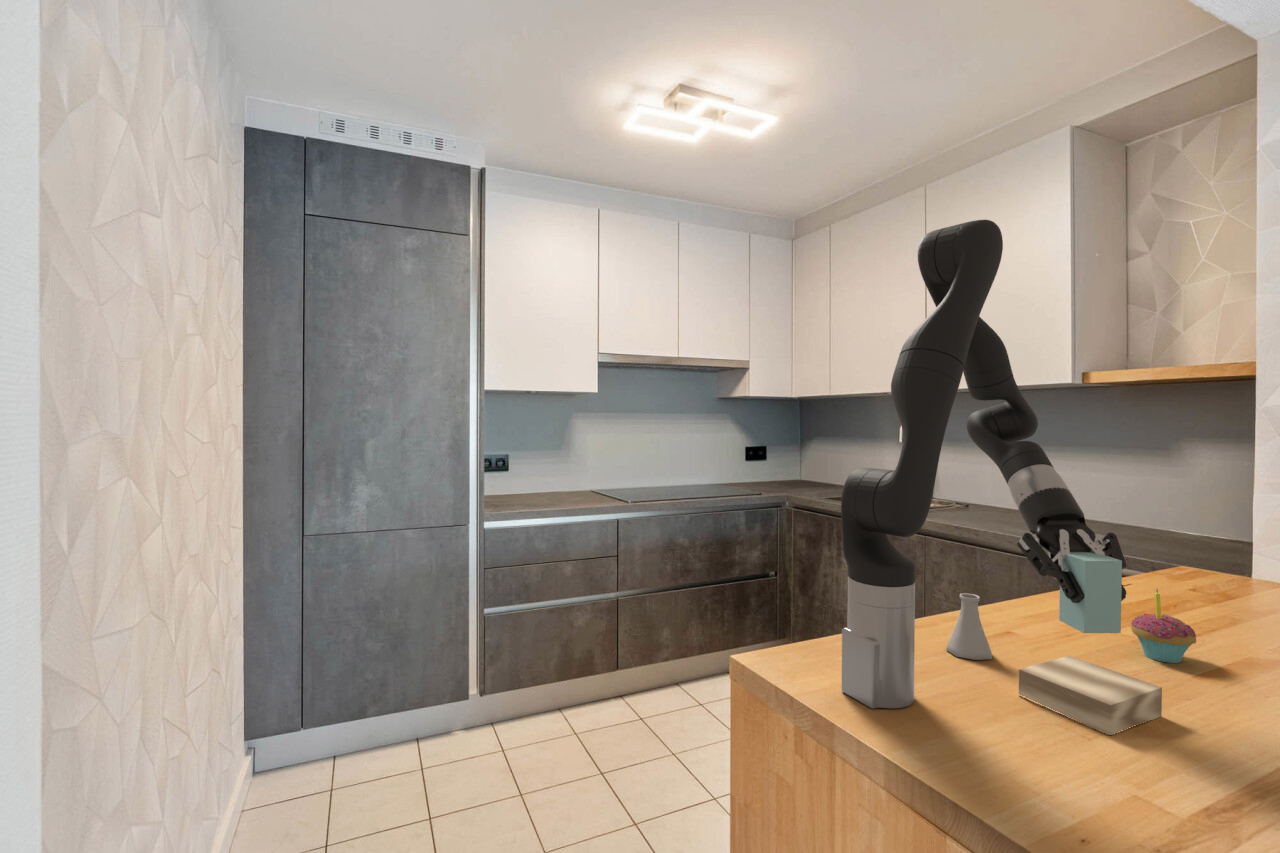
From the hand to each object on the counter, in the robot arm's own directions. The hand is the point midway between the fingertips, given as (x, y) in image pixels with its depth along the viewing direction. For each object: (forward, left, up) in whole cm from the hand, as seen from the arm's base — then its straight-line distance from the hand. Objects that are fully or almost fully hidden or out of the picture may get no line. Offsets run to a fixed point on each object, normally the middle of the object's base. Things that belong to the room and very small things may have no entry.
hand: (1099, 599), depth 84 cm
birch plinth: (+1, +2, -16) cm, 16 cm away
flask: (+3, +22, -16) cm, 27 cm away
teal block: (+1, +2, -4) cm, 5 cm away
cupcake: (+31, +7, -16) cm, 35 cm away
